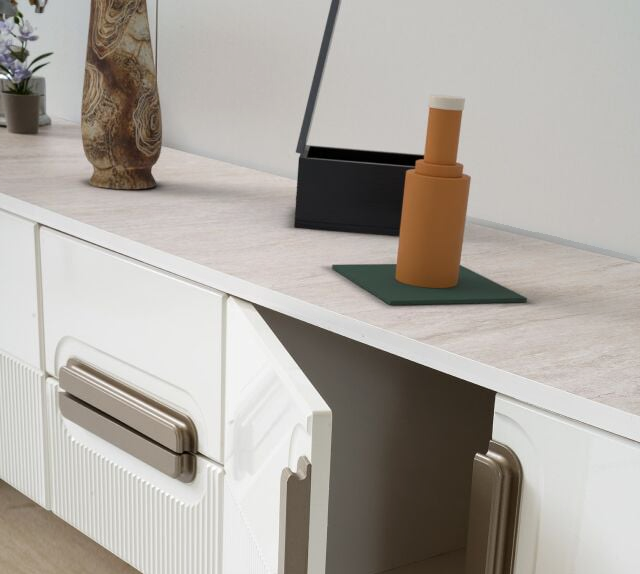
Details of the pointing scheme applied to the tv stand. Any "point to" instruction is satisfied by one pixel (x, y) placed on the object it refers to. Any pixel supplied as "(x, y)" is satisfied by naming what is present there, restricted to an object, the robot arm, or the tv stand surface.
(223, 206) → the tv stand surface
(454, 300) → the mat
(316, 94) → the lid
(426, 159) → the bottle
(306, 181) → the black rectangular box
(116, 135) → the vase
